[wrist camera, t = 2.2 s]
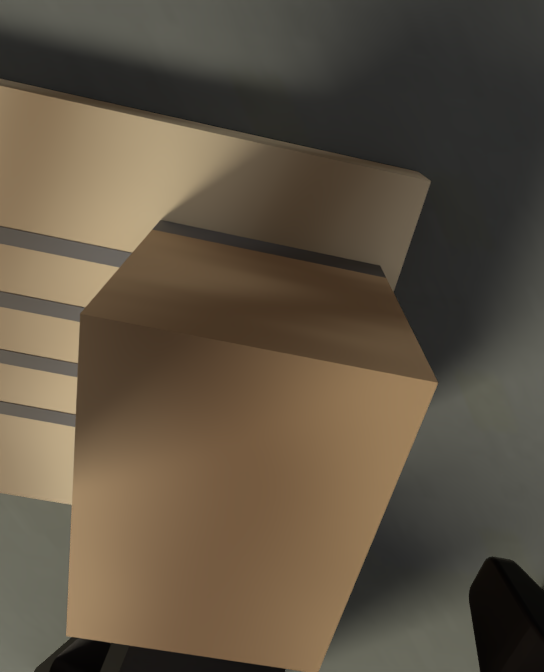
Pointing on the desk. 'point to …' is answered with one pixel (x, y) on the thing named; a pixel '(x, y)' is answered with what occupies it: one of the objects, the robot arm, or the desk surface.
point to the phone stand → (135, 660)
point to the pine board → (135, 224)
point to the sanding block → (235, 445)
